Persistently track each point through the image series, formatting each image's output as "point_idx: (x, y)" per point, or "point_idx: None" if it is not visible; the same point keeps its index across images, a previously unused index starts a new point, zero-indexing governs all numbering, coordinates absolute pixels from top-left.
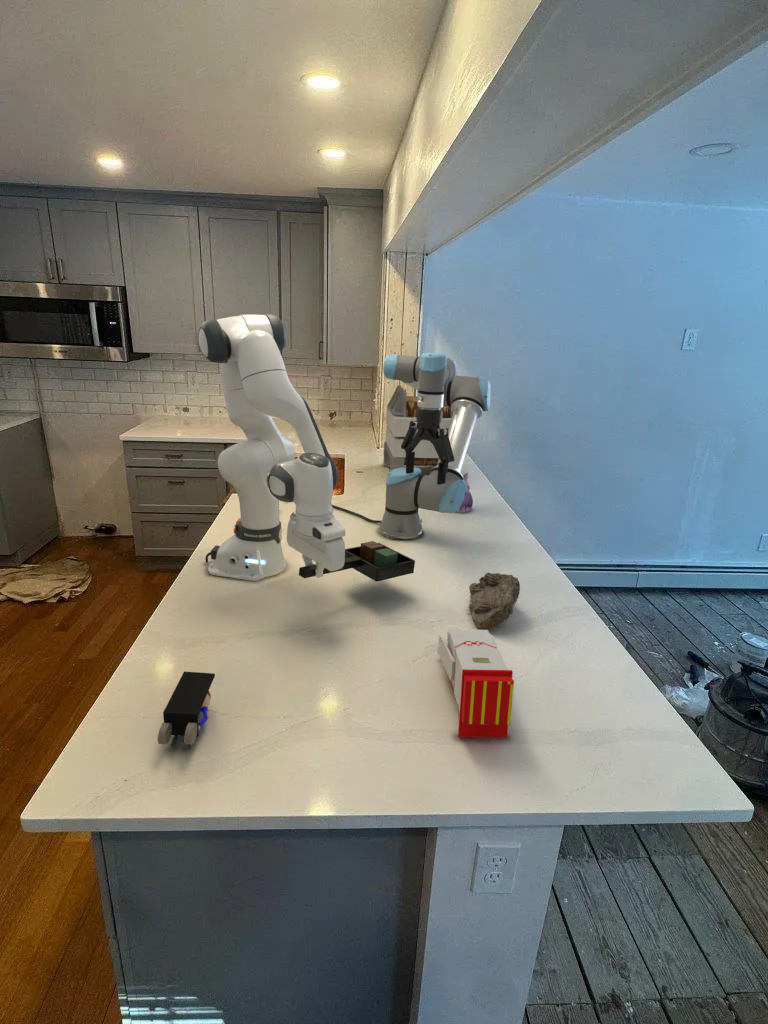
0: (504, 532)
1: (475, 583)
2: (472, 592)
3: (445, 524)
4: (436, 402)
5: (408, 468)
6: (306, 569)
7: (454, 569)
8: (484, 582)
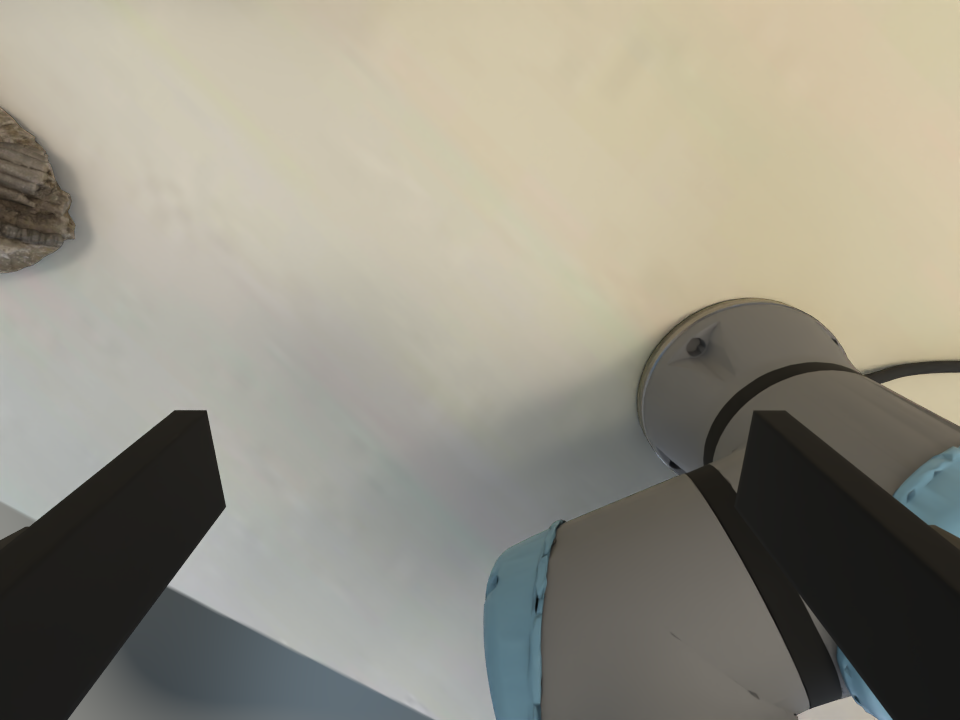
0: (463, 679)
1: (17, 181)
2: (14, 144)
3: None
4: None
5: (788, 461)
6: None
7: (316, 309)
8: None
